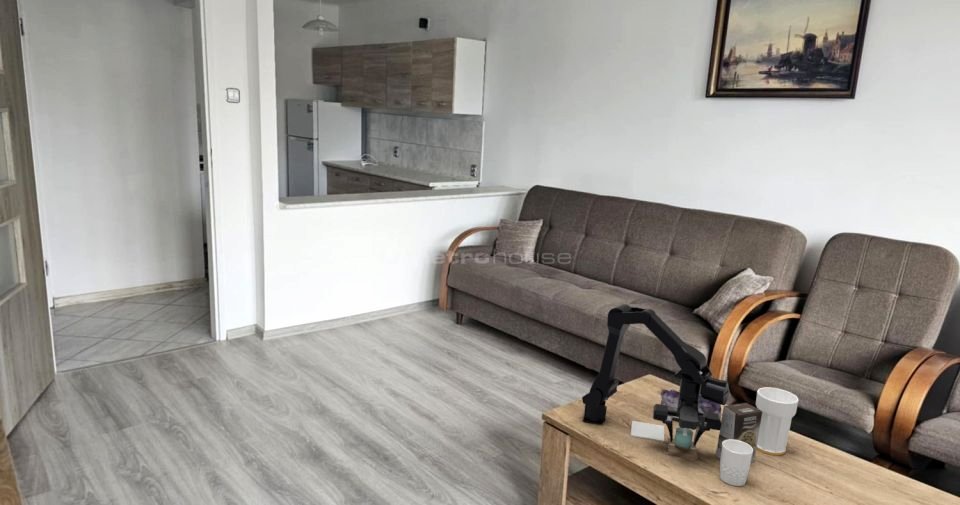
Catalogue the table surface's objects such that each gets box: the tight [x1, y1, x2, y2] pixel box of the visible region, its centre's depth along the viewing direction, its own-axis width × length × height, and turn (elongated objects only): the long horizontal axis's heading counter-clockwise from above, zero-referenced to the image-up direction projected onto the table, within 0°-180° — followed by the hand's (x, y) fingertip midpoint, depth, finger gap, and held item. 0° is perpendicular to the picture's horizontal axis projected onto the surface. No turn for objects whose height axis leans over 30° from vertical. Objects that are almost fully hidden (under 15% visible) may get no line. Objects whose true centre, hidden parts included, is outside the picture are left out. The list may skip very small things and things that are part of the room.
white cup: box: [719, 439, 753, 487], centre depth 173 cm, size 8×8×10 cm
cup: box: [755, 386, 800, 457], centre depth 190 cm, size 11×11×17 cm
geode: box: [660, 388, 722, 421], centre depth 208 cm, size 20×12×10 cm, turn 65°
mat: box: [630, 420, 665, 443], centre depth 198 cm, size 10×10×1 cm
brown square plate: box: [667, 437, 698, 461], centre depth 187 cm, size 8×8×2 cm
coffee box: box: [715, 402, 762, 463], centre depth 183 cm, size 9×6×16 cm
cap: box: [674, 427, 694, 448], centre depth 186 cm, size 6×5×5 cm
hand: (682, 443), depth 187 cm, fingers open, 6 cm apart
